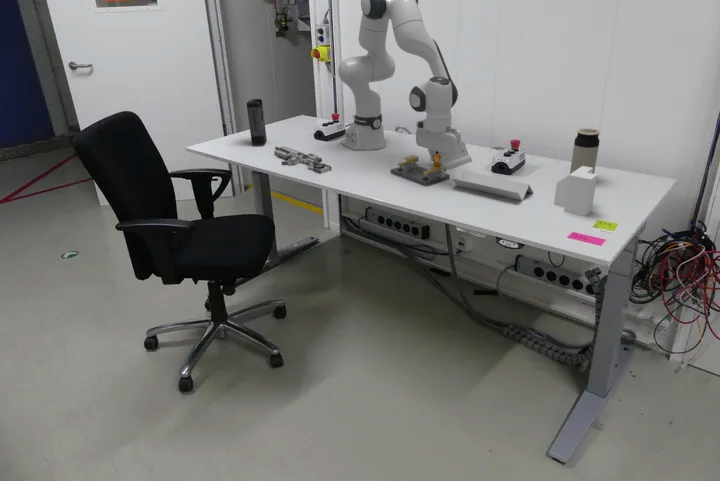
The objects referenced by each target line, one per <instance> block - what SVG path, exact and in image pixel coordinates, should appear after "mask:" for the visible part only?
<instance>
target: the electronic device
mask: <svg viewBox="0 0 720 481" xmlns="http://www.w3.org/2000/svg"><path fill="white" fill-rule="evenodd" d="M263 107H264V106H263V99H261V98H253V99H249V100H248V101H247V102H246V110H247V117H248V126H249V133H250V139H251V146H252V147H263V146H265V144H266V143H267V139H268V138H267V133H266V131H267V130H266V124H265V123H266V122H265V115H264V108H263Z"/></svg>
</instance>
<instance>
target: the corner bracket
mask: <svg viewBox="0 0 720 481" xmlns="http://www.w3.org/2000/svg"><path fill="white" fill-rule="evenodd" d="M592 172H593V168H591V167H586V166H582V167H580V168H579V169H577V170H576V171H574V172H573V173H571V174H570V173H569V174H568V175H567V176H566V177H564V178H562V179H561V180H559V181H558V182H557V183H556V186H555V192H554V193H555V194H554V201H553V205H554V206H558V207H562V208H563V212H565V213H566V212H567V213H569V214H574V215H577V216H583V217H586V216H587V215H589V213H591V212H592V211H593V210H592V209H593V203H594V199H595V192H596V187H597V182H598V176H599V175H598V173H597V174H596V173H594V174H592Z"/></svg>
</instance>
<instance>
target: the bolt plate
mask: <svg viewBox="0 0 720 481" xmlns="http://www.w3.org/2000/svg"><path fill="white" fill-rule="evenodd" d="M397 165H398V167H394V168H391V169H390V170H389V171H390V174H392V175H394V176H397V177H401V178H402V179H405V180H407V181H410V182H414V183H415V184H419V185H420V186H424V187H429V186H432V185H434V184H438V183H441V182H443V181H446V180H450V178H451V175H450V174H449V173H446V171H445V172H444V171H441V172H437V173H436V172H435V173H431V174H428V175H427V178H426V179H425V175H424V174H423V172H425V171H428V170H431V166H430V167H429V166H426V165H424V164H421V163H419V156H417V155H415V154H412V155H409V156H406V157H405V160H403V161H401V162H398V163H397Z"/></svg>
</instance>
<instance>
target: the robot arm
mask: <svg viewBox="0 0 720 481" xmlns="http://www.w3.org/2000/svg"><path fill="white" fill-rule="evenodd" d="M418 5H419V0H361V1H360V7H361V11H362V14H361V19H360V23H359V24H360V26H359V32H358V44H359V45H360V47H361V49H362V48H363V49H364V50H365V51H367V54H366V55H359V56H352V57H347V58H346V59H343V60H341V62H340V63H339V65H338V71H337V72H338V73H337V74H338V77H339V78H340V80H341V82H342V83H343V84H345V85H346V86H347V87H348V88H349V89H350V90H351V92H352V94H353V98H354V105H355V114H354V115H352V119H353V123H352V124H351V125H350V126H349V127H348V128H347V129H346V130H345V133H344V134H345V136H344V138H342V139H341V140H340V141H339V142H340V144H342V145H343V146H344V147H347V148H349V149H350V150H353V151H361V150H362V151H371V150H378V149H381V148H384V147H385V146H386V143H387V139H385V131H384V130H385V129H384V125H383V124H382V123H383V114H382V107H381V106H382V102H381V96H380V95H379V93H377V92H376V91H374V90H372V89H371V88H370V83H374V82H382V81H384V80H387V79H390V78H392V77H393V76H394V74H395V71H396V63H395V60H394V58H393V57H392V56H391V55H390V54H389V53H388V51H387V46H386V45H387V44H386V43H387V35H388V34H387V33H388V29H389V23H390V21H391V26H392V30H393V35H394V39H395V42H396V44H397V47H398V48H399V49H401V50H402V51H403V52H405V53H407V54H410V55H414V56H417V57H420V58H421V59H424V60H425V61H426V62H427V63H428V65H429V68H430V71H431V74H432V75H433V76H432V77H430V78H429V79H428V80H427V81H426V82H424V83H422V84H418V85H416V86H413V88H411V90H410V92H409V97H408V101H409V105H410V107H411V109H413V111H415V112H418V113H424V112H425V113H426V117H425V119H422V120H418V121H416V123H415V124H416V127H417V128H416V130H415V143H416V145H417V146H419V147H421V148H425V149H427V150H428V154H429V157H430V161H431V162H434V154H435V153H434V151H438V152H441V155H442V157H441V159H439V163H440V164H445V159H446V157H447V156H448V155H451V156H457V155H460V153H461V152H462V144H461V142H462V138H461V133H460V131H459V130H458V129H456V128H452V119H453V118H452V116H453V115H452V111H451V109H452V108H453V107H454V106H455V104H456V103H457V101H458V97H459V92H458V89H457V86H456V84H455V83H454V81H453V79H452V77H451V75H450V71H449V70H448V67H447V64H446V61H445V59H444V56H443V54H442V53H441V52H442V51H441V49H440V47H439V45H438V43H437V42H436V40H435V39H433V38H432V37H431V35H429V33H428V31H427V29H426V27H425V24H424V21H423V20H424V19H423V17H422V13H421V10H420V8H419V6H418Z"/></svg>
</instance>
